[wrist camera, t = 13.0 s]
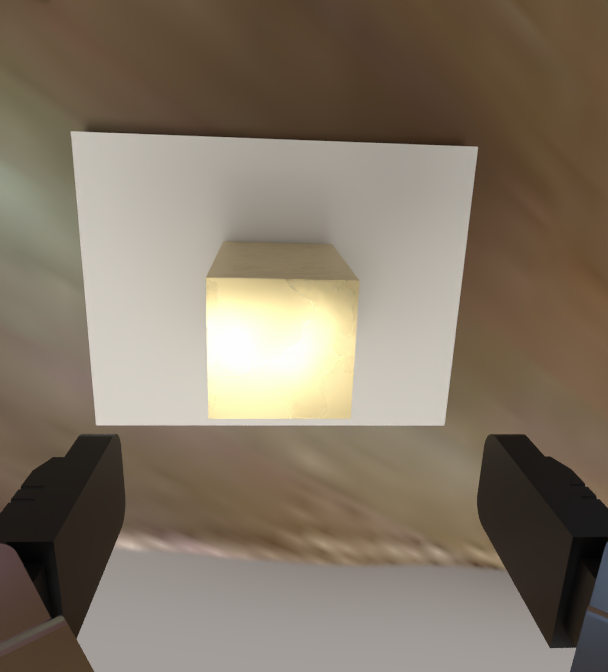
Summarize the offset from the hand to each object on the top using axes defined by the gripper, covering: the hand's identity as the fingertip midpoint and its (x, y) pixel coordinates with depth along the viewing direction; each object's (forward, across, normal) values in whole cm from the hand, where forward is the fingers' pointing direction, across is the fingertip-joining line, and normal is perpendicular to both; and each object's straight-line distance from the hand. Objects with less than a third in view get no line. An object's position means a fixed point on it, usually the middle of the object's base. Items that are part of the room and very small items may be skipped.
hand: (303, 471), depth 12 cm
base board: (+18, +1, 0) cm, 18 cm away
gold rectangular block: (+15, 0, 0) cm, 15 cm away
